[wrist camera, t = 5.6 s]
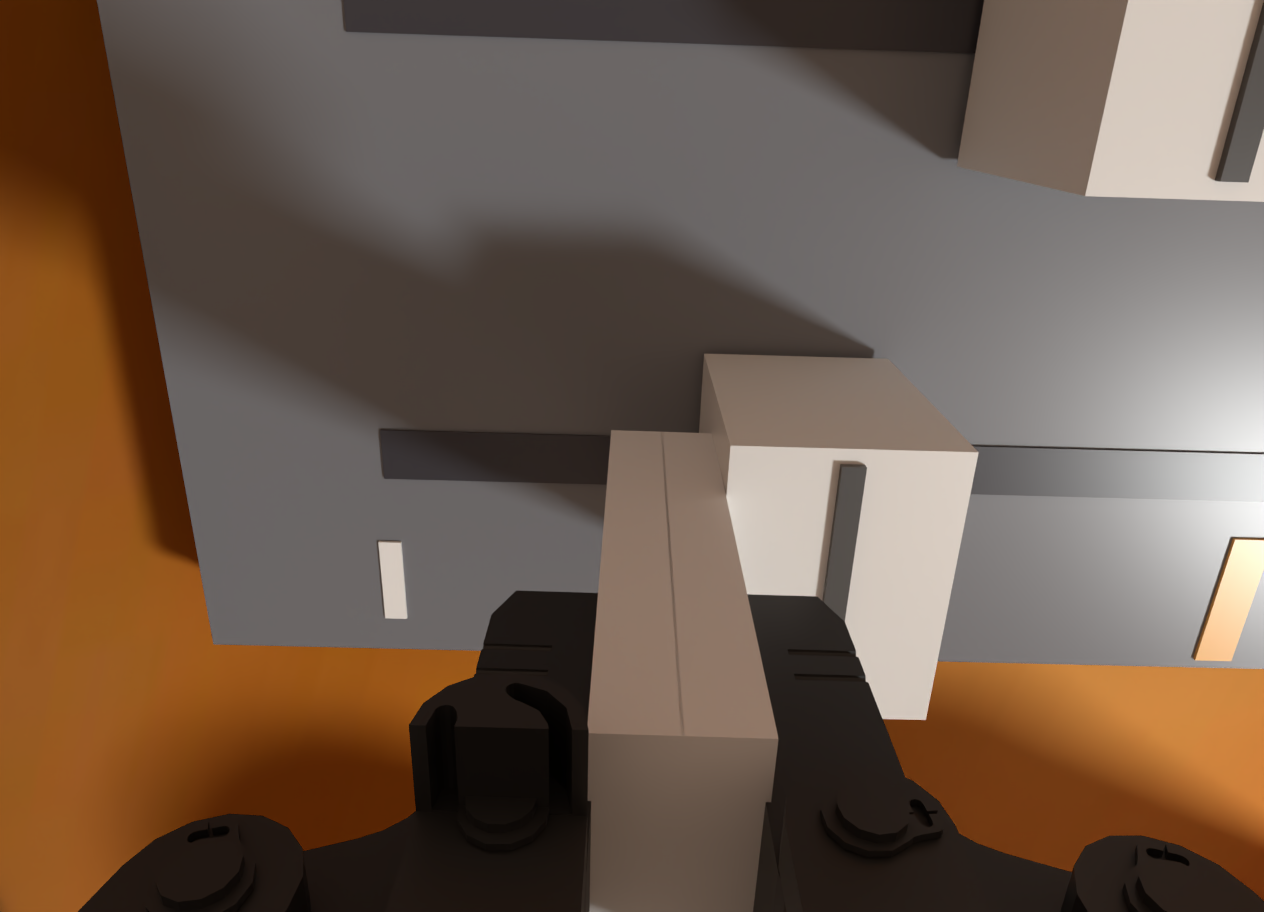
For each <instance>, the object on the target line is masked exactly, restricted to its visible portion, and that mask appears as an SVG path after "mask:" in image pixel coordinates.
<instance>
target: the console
mask: <svg viewBox="0 0 1264 912" xmlns="http://www.w3.org/2000/svg"><path fill="white" fill-rule="evenodd" d="M97 4H98V10H99V15H100V21H101V26H102V32H103V37H104V43H105V48H106V54H107V59H108V65H109V70H110V76H111V82H112V87H113V93H114V98H115V104H116V109H117V115H118V120H119V126H120V131H121V137H122V142H123V148H124V153H125V159H126V164H127V170H128V175H129V181H130V186H131V192H132V197H133V203H134V208H135V214H136V219H137V225H138V230H139V236H140V241H141V247H142V252H143V258H144V263H145V269H146V274H147V280H148V285H149V291H150V296H151V302H152V308H153V313H154V319H155V324H156V330H157V335H158V341H159V346H160V352H161V357H162V363H163V368H164V374H165V379H166V385H167V390H168V396H169V401H170V407H171V412H172V418H173V423H174V429H175V434H176V440H177V445H178V451H179V456H180V462H181V467H182V473H183V478H184V484H185V489H186V495H187V500H188V506H189V511H190V517H191V523H192V528H193V534H194V539H195V545H196V550H197V556H198V561H199V567H200V572H201V578H202V583H203V589H204V594H205V600H206V605H207V611H208V616H209V622H210V627H211V633H212V638H213V644H224V645H266V646H309V647H352V648H394V649H437V650H479V651H481V650H482V649H483V643H484V639H485V636H486V632H487V628H488V625H489V621H490V618H491V614H492V613H493V612H494V611H495V610H497V609H498V608H499V607H500V606H501V605H502V604H503V603H504V602H505V601H506V600H507V599H508V598H509V597H510V596H511V595H512V594H513V593H514V592H515V591H516V590H517V591H551V592H584V593H598V588H599V575H600V563H601V551H602V538H603V526H604V514H605V501H606V489H607V477H608V464H609V452H610V439H611V430H622V431H655V432H687V433H699V425H700V409H701V394H702V378H703V362H704V354H738V355H773V356H808V357H843V358H877V359H889V360H890V361H891V362H892V363H893V364H894V365H895V366H896V367H897V368H898V370H899V371H900V372H901V373H902V374H903V375H904V376H905V377H906V378H907V379H908V380H909V381H910V382H911V383H912V384H913V385H914V386H915V387H916V388H917V389H918V390H919V391H920V392H921V393H922V394H923V395H924V396H925V397H926V398H927V399H928V401H929V402H930V403H931V404H932V405H933V406H934V407H935V408H936V409H937V410H938V411H939V412H940V413H941V414H942V415H943V416H944V417H945V418H946V419H947V420H948V421H949V422H950V423H951V424H952V425H953V426H954V427H955V428H956V429H957V430H958V432H959V433H960V434H961V435H962V436H963V437H964V438H965V439H966V440H967V441H968V442H969V443H970V444H971V445H972V446H973V447H974V448H975V449H976V450H977V451H978V452H979V453H978V458H977V463H976V468H975V473H974V478H973V484H972V489H971V494H970V499H969V504H968V509H967V514H966V519H965V524H964V529H963V534H962V539H961V544H960V549H959V555H958V560H957V565H956V570H955V575H954V580H953V585H952V590H951V595H950V600H949V605H948V610H947V615H946V620H945V625H944V631H943V636H942V641H941V646H940V651H939V656H938V661H948V662H991V663H1033V664H1076V665H1118V666H1161V667H1204V668H1246V669H1264V202H1253V201H1221V200H1190V199H1158V198H1127V197H1095V196H1082V195H1078V194H1073V193H1069V192H1065V191H1061V190H1056V189H1052V188H1048V187H1043V186H1039V185H1035V184H1030V183H1026V182H1022V181H1017V180H1013V179H1009V178H1004V177H1000V176H996V175H991V174H987V173H983V172H978V171H974V170H970V169H965V168H961V167H957V162H958V156H959V150H960V144H961V138H962V132H963V126H964V120H965V114H966V107H967V101H968V95H969V89H970V83H971V77H972V71H973V65H974V59H975V53H976V47H977V41H978V35H979V28H980V22H981V16H982V10H983V4H984V0H97Z"/></svg>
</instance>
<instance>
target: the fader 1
mask: <svg viewBox="0 0 1264 912" xmlns="http://www.w3.org/2000/svg"><path fill="white" fill-rule="evenodd" d="M699 433H712V436H713V441H714V445H715V449H716V453H717V457H718V461H719V466H720V470H721V475H722V479H723V484H724V489H725V493H726V498H727V503H728V507H729V512H730V516H731V521H732V526H733V530H734V535H735V540H736V544H737V549H738V554H739V558H740V563H741V567H742V572H743V577H744V581H745V586H746V591H747V594H752V595H786V596H817V597H818V598H820V599H821V600H822V601H823V602H824V603H825V604H826V605H827V606H828V607H829V608H830V609H831V610H833V611H834V612H835V613H836V614H837V615H838V616H839V617H840V618H841V619H842V620H843V621H844V622H845V624H846V626H847V629H848V631H849V634H850V637H851V639H852V642H853V644H854V647H855V650H856V657H859V660H860V662H861V665H862V668H863V670H864V673H865V675H866V682H868V683H869V686H870V688H871V691H872V693H873V696H874V698H875V701H876V704H877V706H878V709H879V711H880V714H881V716H882V719H904V720H926V717H927V712H928V707H929V702H930V696H931V691H932V686H933V681H934V676H935V671H936V666H937V661H938V656H939V651H940V646H941V641H942V636H943V631H944V625H945V620H946V615H947V610H948V605H949V600H950V595H951V590H952V585H953V580H954V575H955V570H956V565H957V560H958V555H959V549H960V544H961V539H962V534H963V529H964V524H965V519H966V514H967V509H968V504H969V499H970V494H971V489H972V484H973V478H974V473H975V468H976V463H977V458H978V453H979V452H978V451H977V450H976V449H975V448H974V447H973V446H972V445H971V444H970V443H969V442H968V441H967V440H966V439H965V438H964V437H963V436H962V435H961V434H960V433H959V432H958V430H957V429H956V428H955V427H954V426H953V425H952V424H951V423H950V422H949V421H948V420H947V419H946V418H945V417H944V416H943V415H942V414H941V413H940V412H939V411H938V410H937V409H936V408H935V407H934V406H933V405H932V404H931V403H930V402H929V401H928V399H927V398H926V397H925V396H924V395H923V394H922V393H921V392H920V391H919V390H918V389H917V388H916V387H915V386H914V385H913V384H912V383H911V382H910V381H909V380H908V379H907V378H906V377H905V376H904V375H903V374H902V373H901V372H900V371H899V370H898V368H897V367H896V366H895V365H894V364H893V363H892V362H891V361H890V360H889V359H877V358H843V357H808V356H773V355H738V354H704V362H703V378H702V394H701V409H700V425H699Z"/></svg>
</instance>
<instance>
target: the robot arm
mask: <svg viewBox="0 0 1264 912" xmlns="http://www.w3.org/2000/svg"><path fill="white" fill-rule="evenodd" d="M409 732H410V744H411V756H412V768H413V780H414V792H415V804H416V811H415V812H414V813H413V814H412V815H410V816H409V817H408V818H406V819H404V820H402V821H400V822H399V823H397V824H395V825H393V826H391V827H389V828H387V829H385V830H383V831H380V832H377V833H374V834H371V835H368V836H364V837H361V838H358V839H354V840H350V841H346V842H341V843H337V844H333V845H329V846H324V847H320V848H316V849H311V850H307V851H303V849H302V847H301V846H300V844H299V843H298V841H297V840H296V839H295V837H294V836H293V834H292V833H291V831H290V830H289V828H287V827H285V826H283V825H281V824H279V823H277V822H275V821H272V820H270V819H268V818H266V817H264V816H256V815H239V814H227V815H222V816H217V817H213V818H208V819H203V820H199V821H194V822H191V823H189V824H187V825H185V826H183V827H180V828H178V829H176V830H174V831H172V832H170V833H168V834H166V835H164V836H161V837H159V838H157V839H155V840H154V841H153V842H151V843H150V844H149V845H148V846H146V847H145V848H144V849H143V850H141V851H140V852H139V853H138V854H136V855H135V856H134V857H133V858H131V859H130V860H129V861H128V862H126V863H125V864H124V865H123V866H122V867H121V868H120V869H119V870H118V871H117V872H116V873H115V874H114V875H113V876H112V877H111V878H110V879H109V880H108V881H107V882H106V883H105V884H104V885H103V886H102V887H101V888H100V889H99V890H98V891H97V893H96V894H95V895H94V896H93V897H92V898H91V899H90V900H89V901H88V902H87V903H86V904H85V905H84V906H83V907H82V908H81V909H80V910H79V911H78V912H1264V901H1263V900H1262V899H1261V898H1260V897H1259V896H1258V895H1257V894H1255V893H1254V892H1253V891H1252V890H1251V889H1249V888H1248V887H1247V886H1245V885H1244V884H1243V883H1242V882H1240V881H1239V880H1238V879H1236V878H1235V877H1234V876H1232V875H1231V874H1230V873H1229V872H1227V871H1226V870H1225V869H1223V868H1222V867H1221V866H1220V865H1218V864H1216V863H1214V862H1212V861H1210V860H1208V859H1206V858H1204V857H1202V856H1200V855H1198V854H1196V853H1194V852H1192V851H1190V850H1188V849H1186V848H1184V847H1182V846H1179V845H1176V844H1172V843H1168V842H1164V841H1160V840H1157V839H1153V838H1149V837H1145V836H1108V837H1105V838H1103V839H1101V840H1098V841H1096V842H1094V843H1092V844H1089V845H1087V846H1085V848H1084V850H1083V851H1082V853H1081V855H1080V857H1079V858H1078V860H1077V862H1076V863H1075V865H1074V868H1073V871H1072V872H1069V871H1065V870H1062V869H1058V868H1055V867H1051V866H1048V865H1044V864H1040V863H1037V862H1033V861H1030V860H1026V859H1023V858H1019V857H1016V856H1012V855H1008V854H1005V853H1002V852H999V851H997V850H994V849H991V848H988V847H986V846H983V845H980V844H977V843H975V842H974V841H972V840H970V839H968V838H966V837H964V836H963V835H961V834H959V833H958V830H957V828H956V826H955V824H954V823H953V821H952V820H951V818H950V817H949V815H948V814H947V813H946V811H945V810H944V808H943V807H942V805H941V804H940V802H939V801H938V800H937V799H935V798H934V797H933V796H932V795H930V794H929V793H928V792H927V791H925V790H924V789H923V788H921V787H920V786H919V785H918V784H916V783H915V782H914V781H912V780H910V779H907V778H905V776H904V773H903V771H902V768H901V765H900V763H899V760H898V758H897V755H896V753H895V750H894V747H893V745H892V742H891V740H890V737H889V734H888V732H887V729H886V727H885V724H884V722H883V719H882V716H881V714H880V711H879V709H878V706H877V704H876V701H875V698H874V696H873V693H872V691H871V688H870V686H869V683H868V682H866V675H865V673H864V670H863V668H862V665H861V662H860V660H859V657H856V650H855V647H854V644H853V642H852V639H851V637H850V634H849V631H848V629H847V626H846V624H845V622H844V621H843V620H842V619H841V618H840V617H839V616H838V615H837V614H836V613H835V612H834V611H833V610H831V609H830V608H829V607H828V606H827V605H826V604H825V603H824V602H823V601H822V600H821V599H820V598H818V597H817V596H786V595H752V594H747V591H746V586H745V581H744V577H743V572H742V567H741V563H740V558H739V554H738V549H737V544H736V540H735V535H734V530H733V526H732V521H731V516H730V512H729V507H728V503H727V498H726V493H725V489H724V484H723V479H722V475H721V470H720V466H719V461H718V457H717V453H716V449H715V445H714V441H713V436H712V433H687V432H655V431H622V430H611V439H610V452H609V464H608V477H607V489H606V501H605V514H604V526H603V538H602V551H601V563H600V575H599V588H598V593H584V592H551V591H517V590H516V591H515V592H514V593H513V594H512V595H511V596H510V597H509V598H508V599H507V600H506V601H505V602H504V603H503V604H502V605H501V606H500V607H499V608H498V609H497V610H495V611H494V612H493V613H492V614H491V618H490V621H489V625H488V628H487V632H486V636H485V639H484V643H483V649H482V650H481V653H480V657H479V660H478V664H477V668H476V674H475V675H474V677H473V678H470V679H467V680H464V681H461V682H458V683H455V684H452V685H450V686H447V687H446V688H444V689H443V690H442V691H440V692H439V693H437V694H436V695H434V696H433V697H432V698H430V699H429V700H427V701H426V702H424V703H423V705H422V706H421V708H420V709H419V711H418V712H417V714H416V715H415V717H414V718H413V720H412V721H411V723H410V724H409Z"/></svg>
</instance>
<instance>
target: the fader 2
mask: <svg viewBox="0 0 1264 912" xmlns="http://www.w3.org/2000/svg"><path fill="white" fill-rule="evenodd" d="M957 167H961V168H965V169H970V170H974V171H978V172H983V173H987V174H991V175H996V176H1000V177H1004V178H1009V179H1013V180H1017V181H1022V182H1026V183H1030V184H1035V185H1039V186H1043V187H1048V188H1052V189H1056V190H1061V191H1065V192H1069V193H1073V194H1078V195H1082V196H1095V197H1127V198H1158V199H1190V200H1221V201H1253V202H1264V0H984V4H983V10H982V16H981V22H980V28H979V35H978V41H977V47H976V53H975V59H974V65H973V71H972V77H971V83H970V89H969V95H968V101H967V107H966V114H965V120H964V126H963V132H962V138H961V144H960V150H959V156H958V162H957Z"/></svg>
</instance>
